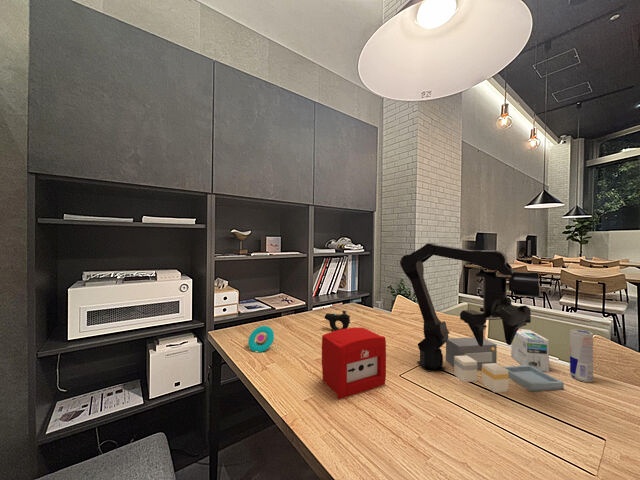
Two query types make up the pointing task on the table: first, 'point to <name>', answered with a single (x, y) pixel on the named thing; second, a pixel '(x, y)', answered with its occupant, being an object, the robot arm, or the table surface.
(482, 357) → the block
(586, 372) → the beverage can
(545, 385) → the tray
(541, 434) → the table surface
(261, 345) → the ornament
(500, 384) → the cream taped block
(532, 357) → the light bulb box
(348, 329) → the fire alarm
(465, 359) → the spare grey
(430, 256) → the robot arm
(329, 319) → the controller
